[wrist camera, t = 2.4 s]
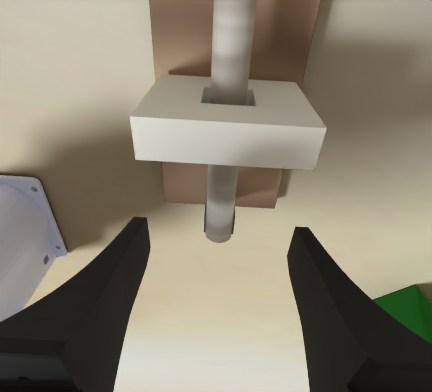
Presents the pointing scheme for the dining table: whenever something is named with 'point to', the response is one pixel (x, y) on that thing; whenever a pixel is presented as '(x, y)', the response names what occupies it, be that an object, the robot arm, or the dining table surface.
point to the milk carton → (410, 310)
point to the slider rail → (229, 86)
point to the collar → (227, 125)
